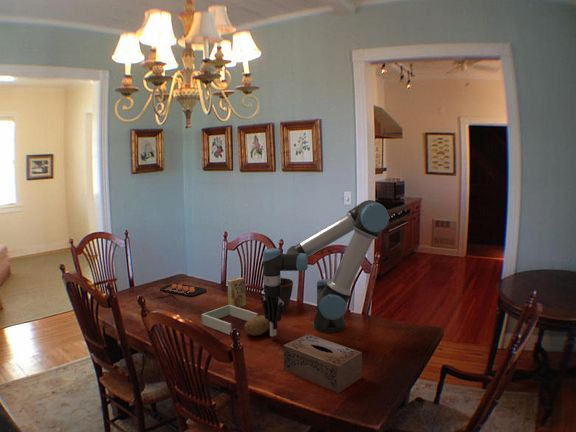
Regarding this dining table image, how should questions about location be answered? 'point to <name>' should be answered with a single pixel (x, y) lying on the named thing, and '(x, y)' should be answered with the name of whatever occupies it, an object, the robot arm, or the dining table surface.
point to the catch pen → (213, 316)
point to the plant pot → (286, 292)
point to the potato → (256, 325)
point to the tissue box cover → (323, 362)
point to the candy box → (236, 292)
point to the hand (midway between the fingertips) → (273, 335)
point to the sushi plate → (187, 288)
